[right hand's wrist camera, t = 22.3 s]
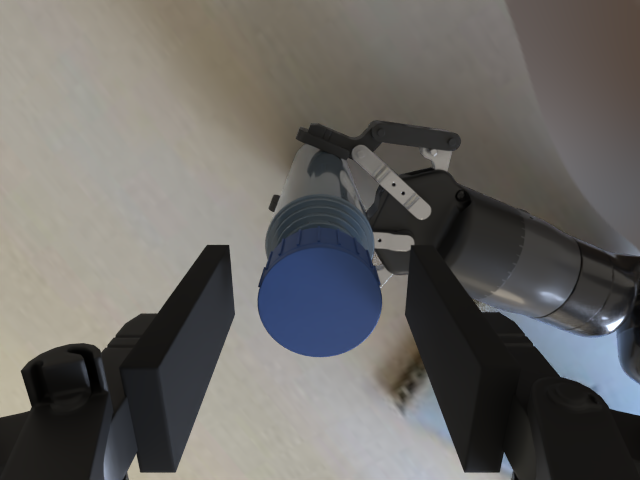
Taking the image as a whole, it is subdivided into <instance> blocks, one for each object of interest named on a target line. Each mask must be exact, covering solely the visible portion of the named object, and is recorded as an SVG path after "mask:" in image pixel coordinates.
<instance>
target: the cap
mask: <svg viewBox="0 0 640 480" xmlns="http://www.w3.org/2000/svg"><path fill="white" fill-rule="evenodd" d="M380 285H381V283H380V280H379V276H378V273H377V270H376V267H375V266H373V263H372V260H371V257H370V254H369V251H368V250H365V248H364V247H363V246H362V245H361V244H360V243H359V242H358V241H357V239H356V238H355V237H354V238H353V237H351V236H349V235H348V234H346V233H343V232H341V231H340V230H339V229H337V230H335V229H330V228H320V226H318V228H309V229H305V230H302V231H301V229H300V230H298V232H296V233H294V234H292V235H290V236H289V237H287V238H286V239H284V238H283V239H282V241H281V243H280V244H279V245H278V246H277V247H276V248H275V249H274V251H273V252H272V251H271V252H270V255H269V258H268V261H267V264H266V267H264V269H263V273H262V276H261V279H260V282H259V286H258V287H260V289H259V293H258V311H259V315H260V318H261V321H262V323H263V325H264V327H265V329H266V330H267V332H268V333H269V334H270V335H271V336H272V338H273V339H274V340H276V341H277V342H278V343H279V344H280V345H282V346H283V347H285V348H287V349H289V350H290V351H293V352H295V353H298V354H301V355H305V356H311V357H329V356H335V355H339V354H342V353H345V352H347V351H349V350H351V349H353V348H355V347H356V346H358V345H359V344H361V343H362V342H363V341H364V340H365V339H366V338H367V337H368V336H369V335H370V334H371V332H372V331H373V330H374V328H375V326H376V325H377V322H378V320H379V318H380V314H381V309H382V295H381V290H380Z"/></svg>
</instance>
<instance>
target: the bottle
mask: <svg viewBox="0 0 640 480" xmlns="http://www.w3.org/2000/svg"><path fill="white" fill-rule="evenodd" d="M318 226H320V228H330V229H335V230H337V229H339V230H340V231H341V232H343V233H346V234H348V235H349V236H351V237H353V238H354V237H355V238H356V239H357V241H358V242H359V243H360V244H361V245H362V246H363V247H364V248H365V250H368V251H369V254H370V257H371V260H372V259H373V255H374V248H375V245H374V235H373V231H372V228H371V225H370V223H369V220H368V217H367V214H366V212H365V209H364V206H363V203H362V201H361V198H360V195H359V193H358V190H357V187H356V184H355V182H354V179H353V176H352V174H351V171H350V168H349V165H348V163H347V160H344V159H341V158H339V157H337V156H335V155H332V154H330V153H327V152H325V151H322V150H320V149H318V148H315V147H313V146H311V145H308V144H304V145H303V146H302V147H301V148H300V149H299V150H298V152H297V153H296V155H295V158H294V160H293V163H292V166H291V168H290V171H289V174H288V176H287V179H286V182H285V184H284V187H283V190H282V193H281V195H280V198H279V201H278V203H277V206H276V209H275V211H274V214H273V217H272V220H271V222H270V225H269V228H268V231H267V234H266V240H265V249H266V255H267V259H268V258H269V255H270V252H271V251H272V252H273V251H274V249H275V248H276V247H277V246H278V245H279V244H280V243H281V241H282V239H283V238H284V239H286V238H287V237H289V236H290V235H292V234H294V233H296V232H298V230H300V229H301V231H302V230H305V229H309V228H318Z"/></svg>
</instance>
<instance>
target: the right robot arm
mask: <svg viewBox="0 0 640 480" xmlns="http://www.w3.org/2000/svg"><path fill="white" fill-rule="evenodd" d="M234 316H235V310H234V298H233V286H232V274H231V261H230V249H229V245H207V246H206V247H205V249H204V250H203V251H202V253H201V254H200V255H199V257H198V258H197V260H196V261H195V262H194V264H193V265H192V267H191V268H190V269H189V271H188V272H187V274H186V275H185V276H184V278H183V279H182V280H181V282H180V283H179V285H178V286H177V287H176V289H175V290H174V292H173V293H172V294H171V296H170V297H169V299H168V300H167V301H166V303H165V304H164V305H163V307H162V308H161V310H160V311H159V312H158V314H140V315H138V316H137V317H135V318H133V319H132V320H130V321H129V322H127V323H126V324H125V325H124V326H123V327H122V328H121V330H120V331H119V332H118V333H117V334H116V337H115V338H113V339H112V340H111V342H110V343H109V344H108V347H107V348H105V349H104V350H103V351H102V352H101V351H100V349H98V348H97V347H96V346H94V345H90V344H85V343H80V344H69V345H65V346H61V347H57V348H54V349H51V350H49V351H47V352H44V353H42V354H40V355H38V356H37V357H35V358H34V359H32V360H31V361H29V362H28V363H27V364H26V366H25V367H24V368H23V369H22V370H21V373H22V376H23V380H24V383H25V386H26V389H27V393H28V396H29V399H30V403H31V406H32V408H31V410H30V411H28V412H24V413H20V414H15V415H10V416H6V417H1V418H0V480H129V478H128V474H127V471H128V469H129V467H130V465H131V463H132V461H133V459H134V457H135V455H136V453H137V458H138V463H139V468H140V472H176V470H177V467H178V465H179V462H180V459H181V457H182V454H183V451H184V449H185V446H186V443H187V441H188V438H189V435H190V433H191V430H192V427H193V425H194V422H195V419H196V417H197V414H198V411H199V409H200V406H201V403H202V401H203V398H204V395H205V393H206V390H207V388H208V385H209V382H210V380H211V377H212V374H213V372H214V369H215V366H216V364H217V361H218V358H219V356H220V353H221V350H222V348H223V345H224V342H225V340H226V337H227V334H228V332H229V329H230V326H231V324H232V321H233V318H234ZM405 316H406V318H407V321H408V324H409V326H410V329H411V332H412V334H413V337H414V340H415V342H416V345H417V348H418V350H419V353H420V356H421V358H422V361H423V364H424V366H425V369H426V372H427V374H428V377H429V380H430V382H431V385H432V388H433V390H434V393H435V395H436V398H437V401H438V403H439V406H440V409H441V411H442V414H443V417H444V419H445V422H446V425H447V427H448V430H449V433H450V435H451V438H452V441H453V443H454V446H455V449H456V451H457V454H458V457H459V459H460V462H461V465H462V467H463V470H464V472H500V468H501V463H502V458H503V453H505V455H506V457H507V459H508V461H509V463H510V465H511V467H512V469H513V474H512V478H511V480H640V416H638V415H633V414H629V413H624V412H619V411H615V410H612V409H609V407H608V405H607V404H606V403H605V401H604V400H603V399H602V397H601V396H599V395H598V394H597V393H595V392H594V391H593V390H592V389H590V388H588V387H586V386H584V385H582V384H580V383H578V382H576V381H573V380H569V379H566V378H562V377H560V376H559V375H558V373H557V372H556V371H555V370H554V369H553V367H552V366H551V365H550V364H549V363H548V361H547V360H546V359H545V358H544V357H543V355H542V354H541V353H540V352H539V351H538V349H537V348H536V347H535V346H533V343H532V342H531V341H530V340H529V339H528V337H527V336H525V334H524V333H523V331H522V330H521V329H520V328H519V327H518V325H517V324H516V323H515V322H514V321H512V320H510V319H509V318H507V317H506V316H504V315H503V314H501V313H499V312H481V311H480V310H479V308H478V307H477V305H476V304H475V303H474V301H473V300H472V299H471V297H470V296H469V294H468V293H467V292H466V290H465V289H464V287H463V286H462V285H461V283H460V282H459V280H458V279H457V278H456V276H455V275H454V274H453V272H452V271H451V269H450V268H449V267H448V265H447V264H446V262H445V261H444V260H443V258H442V257H441V255H440V254H439V253H438V251H437V250H436V249H435V247H434V246H433V245H411V249H410V261H409V274H408V286H407V298H406V310H405Z"/></svg>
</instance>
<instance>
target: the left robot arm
mask: <svg viewBox="0 0 640 480" xmlns="http://www.w3.org/2000/svg"><path fill="white" fill-rule="evenodd" d="M296 139H297V140H299V141H301V142H303V143H306V144H308V145H311V146H313V147H315V148H318V149H320V150H322V151H325V152H327V153H330V154H332V155H335V156H337V157H339V158H341V159H344V160H347V158H350V159H353V160H354V161H355V162H356V163H358V164H359V165H360V166H361V167H362V168H363V169H364V170H365V171H366V172H367V173H369V174H370V175H371V176H372V177H373V178H374V179H375V180H376V181H377V182H378V183H379V184H380V185H379V187H378V189H377V191H376V196H375V201H374V203H373V205H372V206H371V207H370V208H369V209H368V211H367V213H366V214H367V217H368V220H369V223H370V225H371V228H372V231H373V235H374V245H375V248H374V250H375V252H376V254H377V255H378V257H379V259H380V260H381V262H382V264H381V265H379V266H375V267H376V270H377V273H378V276H379V280H380V283H381V285H380V288H381V287H382V286H383V285H384V284H385V283H386V282H387V281H388V280H389V279H390V278H391V276H392V275H393V274H394V275H404V274H409V261H410V249H411V245H433V246H434V247H435V249H436V250H437V251H438V253H439V254H440V255H441V257H442V258H443V260H444V261H445V262H446V264H447V265H448V267H449V268H450V269H451V271H452V272H453V274H454V275H455V276H456V278H457V279H458V280H459V282H460V283H461V285H462V286H463V287H464V289H465V290H466V292H467V293H468V294H469V296H470V297H471V298H472V299H475V300H477V301H480V302H483V303H485V304H488V305H490V306H493V307H495V308H498V309H501V310H504V311H508V312H512V313H517V314H521V315H524V316H528V317H530V318H533V319H535V320H538V321H540V322H543V323H545V324H548V325H551V326H553V327H556V328H558V329H561V330H564V331H566V332H569V333H572V334H575V335H578V336H583V337H591V338H592V337H602V336H605V335H608V334H610V333H612V332H614V331H616V335H617V347H618V357H619V361H620V365H621V367H622V369H623V371H624V372H625V373H626V374H627V375H628V376H629V377H630V378H631V379H632V380H634V381H635V382H637V383H638V384H640V256H635V255H628V254H620V253H614V252H608V251H605V250H603V249H601V248H599V247H596V246H594V245H591V244H589V243H587V242H584V241H582V240H580V239H577V238H575V237H573V236H570V235H568V234H566V233H564V232H562V231H561V230H559V229H557V228H556V227H554V226H553V225H551V224H549V223H548V222H546V221H544V220H542V219H539V218H537V217H535V216H533V215H530V214H529V213H528V212H527V211H525V210H522V209H518V208H514V207H512V206H509V205H507V204H505V203H502V202H500V201H498V200H495V199H493V198H491V197H488V196H486V195H484V194H481V193H479V192H477V191H474V190H472V189H470V188H467V187H465V186H463V185H460V184H458V183H457V182H456V181H455V180H454V179H453V177H452V176H451V174H450V173H448V168H449V163H450V159H451V155H452V151H454V150H456V149H457V148H458V147H459V146H460V143H461V139H460V137H459V135H458V134H456V133H453V132H450V131H447V130H444V129H436V128H429V127H422V126H415V125H407V124H400V123H393V122H385V121H378V120H376V121H373V122H371V123H370V124H369V126H368V128H367V129H366V130H365V131H364V132H363V133H362V134H361V135H360V136H358V137H354V138H352V137H349V136H346V135H344V134H342V133H339V132H337V131H335V130H332V129H330V128H328V127H325V126H323V125H321V124H312V123H311V125H310V127H309V130H308V129H305V128H303V127H300V129H299V131H298V134H297V136H296ZM382 142H385V143H392V144H399V145H407V146H414V147H420V149H419V150H420V154H421V155H422V156H423V157H425V158H427V159H429V160H430V161H431V163H432V167H431V168H426V169H422V170H418V171H413V172H409V173H405V174H401V175H398V174H397V173H396V172H395V171H394V170H393V169H391V168H390V167H389V166H388V165H387V164H386V163H385V162H384V161H383V160H382V159H380V158H379V157H378V156H377V155H376V154H375V153H374V152H373V151H374V150H375V149H376V148H377V147H378V146H379V145H380V144H381V143H382ZM279 198H280V196H279V195H274V196H273V198H272V201H271V203H270V206H269V210H271V211H272V212H274V211H275V209H276V206H277V203H278V201H279ZM373 266H374V265H373Z"/></svg>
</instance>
